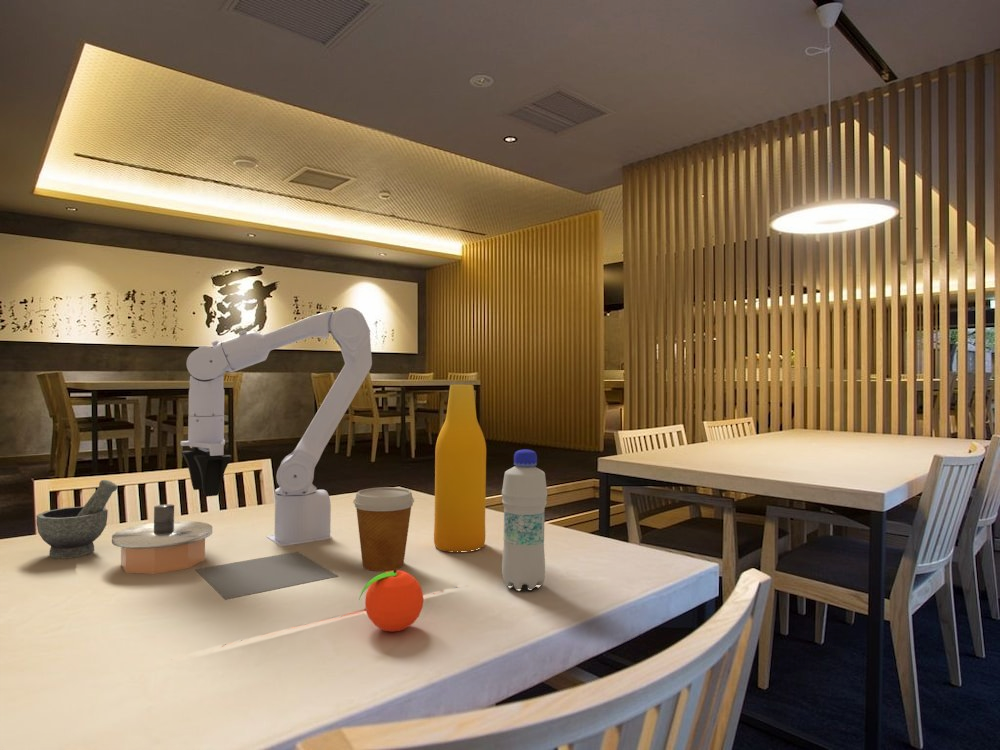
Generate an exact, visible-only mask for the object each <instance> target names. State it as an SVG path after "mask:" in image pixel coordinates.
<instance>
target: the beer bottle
mask: <svg viewBox="0 0 1000 750" xmlns="http://www.w3.org/2000/svg"><path fill="white" fill-rule="evenodd" d="M476 409H477V408H476V400H475V389H474V384H450V385H449V392H448V401H447V409H446V415H445V420H444V423H443V424H442V426H441V429H440V431H439V432H438V433H439V434H438V436H437V440H436V443H435V451H434V453H435V454H434V455H435V459H434V462H435V463H434V469H435V470H434V474H435V476H434V524H433V525H434V526H433V527H434V528H433V543H434V547H436V549H438V550H439V549H440V551H442V550H444V551H443V552H446V551H453V552H452V553H454V552H457V551H458V552H461V551H471V550H476V549H478V548H481V547H482V548H484V546H485V544H486V490H487V489H486V488H487V487H486V484H487V443H486V440H485V439H486V438H485V436H484V433H483V431H482V427H481V426H480V424H479V422H478V418H477V410H476ZM482 548H481V549H482Z"/></svg>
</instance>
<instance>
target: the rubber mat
mask: <svg viewBox="0 0 1000 750" xmlns="http://www.w3.org/2000/svg"><path fill="white" fill-rule="evenodd" d="M194 570H195V571H196V572H197V573H198V574H199V575H200V577H202V578H203V579H204V580H205V581H206V582H207V583H208V584H209V585H210V586H211V587H212V588H213V589H214V590H215V591H216V593H218V594H219V595H220V596H221V597H222V599H224V600H225V601H227V600H231V599H235V598H240V597H244V596H245V597H246V596H250V595H255V594H259V593H261V594H262V593H265V592H269V591H274V590H280V589H284V588H285V589H286V588H289V587H294V586H299V585H304V584H308V583H313V582H318V581H324V580H328V579H332V578H338V577H339V575H338V574H336V573H334V572H333V571H331V570H330V569H328V568H327V567H324V566H323V565H321V564H319V563H318V562H316V561H315V560H313V559H311V558H309V557H307V556H306V555H305V554H303V553H301V552H299V551H294V552H293V551H292V552H288V553H283V554H282V553H281V554H276V555H275V554H274V555H270V556H264V557H260V558H259V557H258V558H254V559H253V558H252V559H248V560H241V561H236V562H235V561H234V562H229V563H223V564H218V565H212V566H207V567H200V568H195V569H194Z"/></svg>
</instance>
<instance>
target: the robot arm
mask: <svg viewBox="0 0 1000 750" xmlns="http://www.w3.org/2000/svg"><path fill="white" fill-rule="evenodd" d="M329 335H331V337H332V338H333V339H334V341H335V342H336V344H337V345H338V347H340V351H341V355H342V358H343V361H344V365H343V366H342V369H341V370H340V372H339V374H338V376H337V377H336V379H335V381H334V382H333V384H332V385H331V387H330V389H329V391H328V393H327V394H326V396H325V398H324V399H323V401H322V403H321V405H320V407H319V408H318V410H317V412H316V413H315V415H314V417H313V418H312V420H311V422H310V424H309V425H308V427H307V428H306V431H305V432H304V434H303V435H302V437H301V438H300V440H299V442H298V443H297V445H296V447H295V448H294V450H293V451H291V453H289V454H288V455H286V456H285V457H284V458H283V459H282V460H281V462H280V465H279V466H278V468H277V471H276V476H275V477H276V478H275V479H276V482H277V485H278V486H279V487H277V488H276V489H275V490H274V496H275V497H274V534H271V535H270V534H269V535H267V536H266V538H267V539H269V540H270V541H271V542H273V543H275V544H277V545H278V546H280V547H286V546H287V547H288V546H294V545H299V544H304V543H311V542H312V543H313V542H318V541H322V540H323V541H324V540H328V539H333V537H332V536H331V522H332V521H331V513H332V512H331V509H332V508H331V507H332V506H331V498H330V495H329V493H328V491H327V490H325V489H317V486H316V485H314V484H313V481H314V477H315V476H314V475H315V468H316V466H317V464H318V462H319V461H320V459H321V456H322V454H323V452H324V451H325V449H326V446H328V443H329V441H330V439H331V438H332V437H333V434H334V433H335V431H336V429H337V427H339V424H340V422H341V421H342V418H343V417H344V415H345V414H346V412H347V410H348V409H349V407H350V405H351V403H352V402H353V400H354V398H355V396H356V394H357V393H358V392H359V389H360V387H361V386H362V384H363V382H364V380H365V379H366V377H367V375H368V374H369V373H370V370H371V368H372V365H373V359H372V356H373V355H372V347H371V330H370V327H369V325H368V323H367V320H366V318H365V316H364V315H363V314H362V311H361V312H360V311H359V310H358V309H357V308H353V307H342V308H339V309H338V310H336V311H335V312H334V310H330V311H326V312H321V313H318V314H314V315H311V316H308V317H306V318H302V319H301V320H300V319H299V320H298V321H296V322H293V323H290V324H288V325H284V326H283V327H280V328H278V329H276V330H273V331H270V332H267V333H265V334H262V333H260V332H257V331H255V330H251V331H247V330H246V329H243V330H241V331H238V335H237V336H234V337H232V338H228V339H226V340H223V341H220V342H219V340H215V341H212V342H211V344H212V345H211V346H212V347H211V346H207V345H206V346H201V345H200V346H199V347H198V348H197V349H195V350H193V351H191V352H190V353H189V354H188V357H187V358H186V363H185V364H186V368H187V371H188V373H189V374H190V376H189V389H188V422H187V425H188V426H187V427H188V429H187V431H188V433H187V440H181V441H180V446H181V447H189V448H190V450H183V451H181V454H182V457H183V458H184V460H185V463H186V464H187V469H188V471H189V477H190V482H191V485H192V489H193V491H197V490H198V491H199V490H202V492H203V495H204V497H206V498H207V497H214V496H216V497H217V496H219V493H220V490H221V486H222V481H223V478H224V474H225V471H226V469H227V467H228V466H229V463H230V462H231V460H232V455H231V454H224V449H225V448H224V446H225V444H226V440H225V437H224V436H225V389H224V377H225V376H224V375H225V374H226V373H227V372H228V373H234V372H237V371H239V370H243V369H245V368H248V367H251V366H254V365H256V364H259V363H261V362H265V361H266V360H267V358H268V357H269V354H270V352H271V351H273V350H276V349H280V348H283V347H286V346H289V345H292V344H295V343H298V342H300V341H303V340H307V339H309V338H319V339H324V340H329Z"/></svg>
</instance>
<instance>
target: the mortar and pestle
mask: <svg viewBox="0 0 1000 750" xmlns="http://www.w3.org/2000/svg"><path fill="white" fill-rule="evenodd" d="M117 489H118V485H117V484H116V483H115V482H112V481H110V480H107V479H103V480H102V479H101V480H100V482H99V484H98V487H97V489H96V490H95V492H94V493H93V494H92V495H91V497H90V498H89V499H88V500H87V502H86V503H85V505H84V506H70V507H63V508H57V509H56V508H55V509H51V510H50V509H49V510H46V511H44V512H41V513H37V514H36V528H37V533H38V534H39V536H40V537H41V540H43V541H44V543H46V544H47V545H49V546H50V549H49V554H48V555H50V556H51V557H52V558H51V557H50V556H49V557H50V558H51V559H60V558H64V559H69V558H68V557H74V558H79V556H80V557H84V556H87V555H86V554H88V555H90V554H92V553H93V551H94V552H95V544H94V541H96V539H98V538H99V537H100V536H101V535H102V533H103V531H104V530H105V528H106V526H107V521H108V515H109V514H108V509H107V508H105V507H106V505H107V503H108V502H109V500H110V498H111V496H112V494H113V493H114V492H116V491H117ZM91 552H92V553H91ZM89 553H90V554H89ZM83 555H84V556H83Z"/></svg>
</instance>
